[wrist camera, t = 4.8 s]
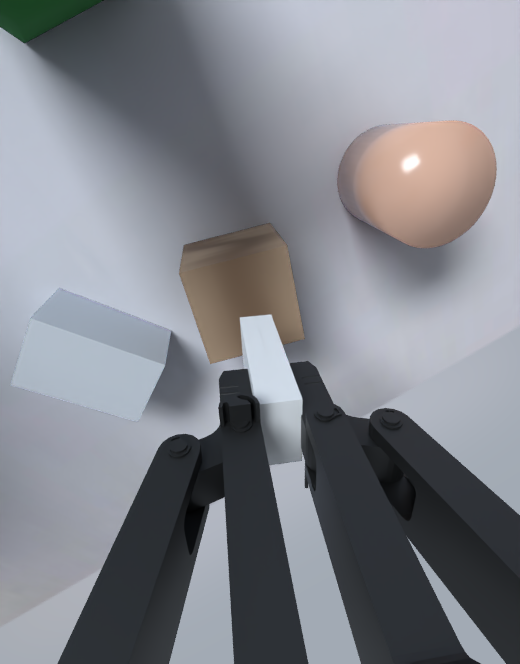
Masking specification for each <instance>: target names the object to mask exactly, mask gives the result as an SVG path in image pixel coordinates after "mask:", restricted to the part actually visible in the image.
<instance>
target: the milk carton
mask: <svg viewBox="0 0 520 664" xmlns="http://www.w3.org/2000/svg"><path fill="white" fill-rule="evenodd" d="M101 1H103V0H0V27H1V28H3V29H4V30H5V31H7V32H8V33H10V34H11V35H13V36H14V37H16V38H17V39H19V40H20V41H22V42H23V43H26V42H28V41H30V40H32V39H33V38H35V37H37V36H39V35H41V34H43V33H45V32H46V31H48V30H50V29H52V28H54V27H56V26H57V25H59V24H61V23H63V22H65V21H67V20H68V19H70V18H72V17H74V16H76V15H78V14H79V13H81V12H83V11H85V10H87V9H89V8H90V7H92V6H94V5H96V4H98V3H100V2H101Z"/></svg>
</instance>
